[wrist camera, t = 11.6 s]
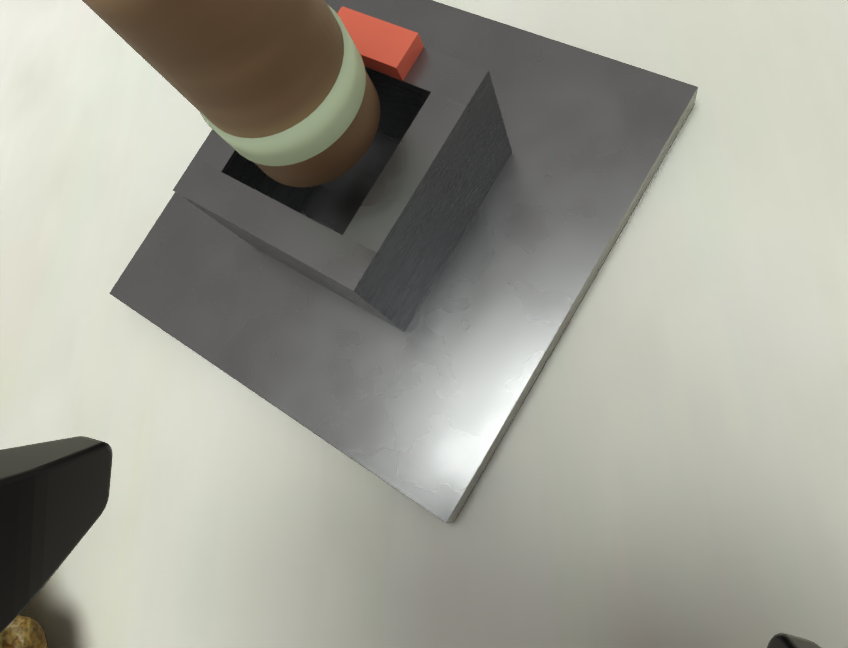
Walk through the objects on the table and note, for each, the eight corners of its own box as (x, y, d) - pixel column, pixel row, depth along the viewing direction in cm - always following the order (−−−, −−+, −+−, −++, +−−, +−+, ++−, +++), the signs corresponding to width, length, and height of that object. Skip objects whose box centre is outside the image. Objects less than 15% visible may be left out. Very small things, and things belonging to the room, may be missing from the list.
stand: (453, 522, 20) (392, 529, 15) (127, 300, 26) (-7, 245, 20) (694, 104, 22) (723, -36, 16) (333, -17, 27) (260, -152, 22)
